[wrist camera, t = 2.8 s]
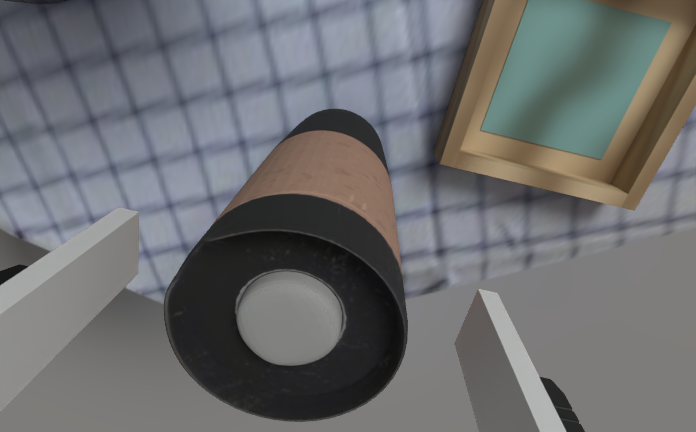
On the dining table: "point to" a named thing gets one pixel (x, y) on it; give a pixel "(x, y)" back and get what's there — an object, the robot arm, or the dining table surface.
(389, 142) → the dining table surface
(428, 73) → the dining table surface
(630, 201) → the tray
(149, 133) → the dining table surface
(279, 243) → the travel mug
